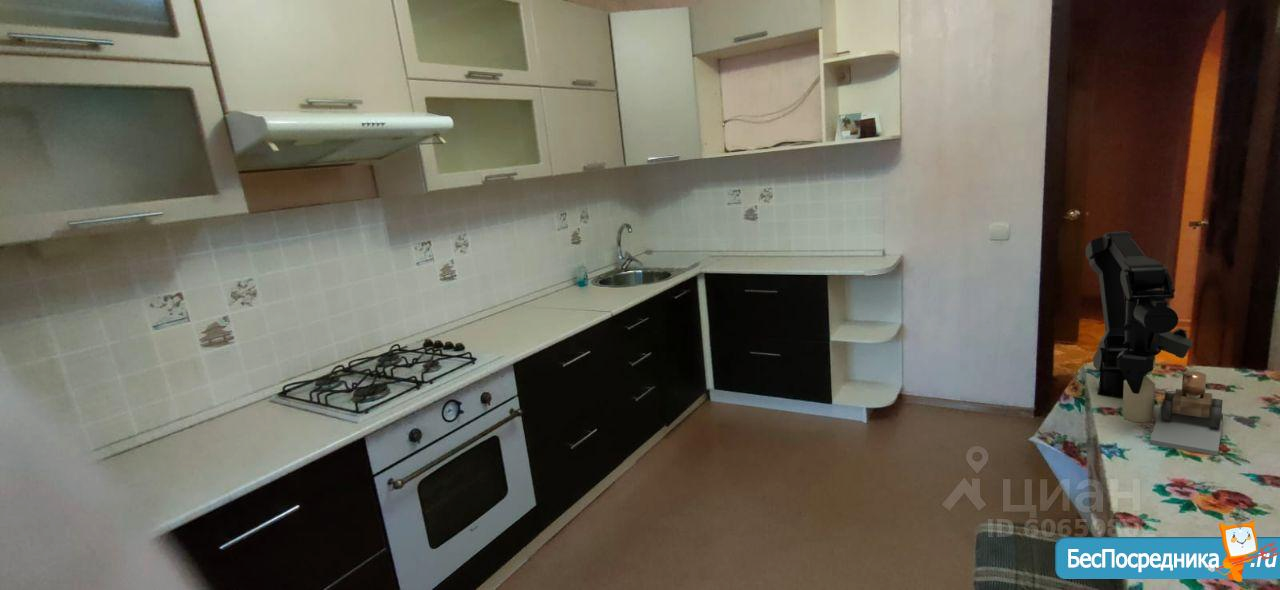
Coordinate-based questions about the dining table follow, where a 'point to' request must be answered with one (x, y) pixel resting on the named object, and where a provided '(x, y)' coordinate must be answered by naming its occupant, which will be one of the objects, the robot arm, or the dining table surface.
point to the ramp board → (1187, 434)
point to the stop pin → (1193, 383)
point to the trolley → (1192, 407)
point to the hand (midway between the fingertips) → (1138, 386)
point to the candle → (1139, 402)
